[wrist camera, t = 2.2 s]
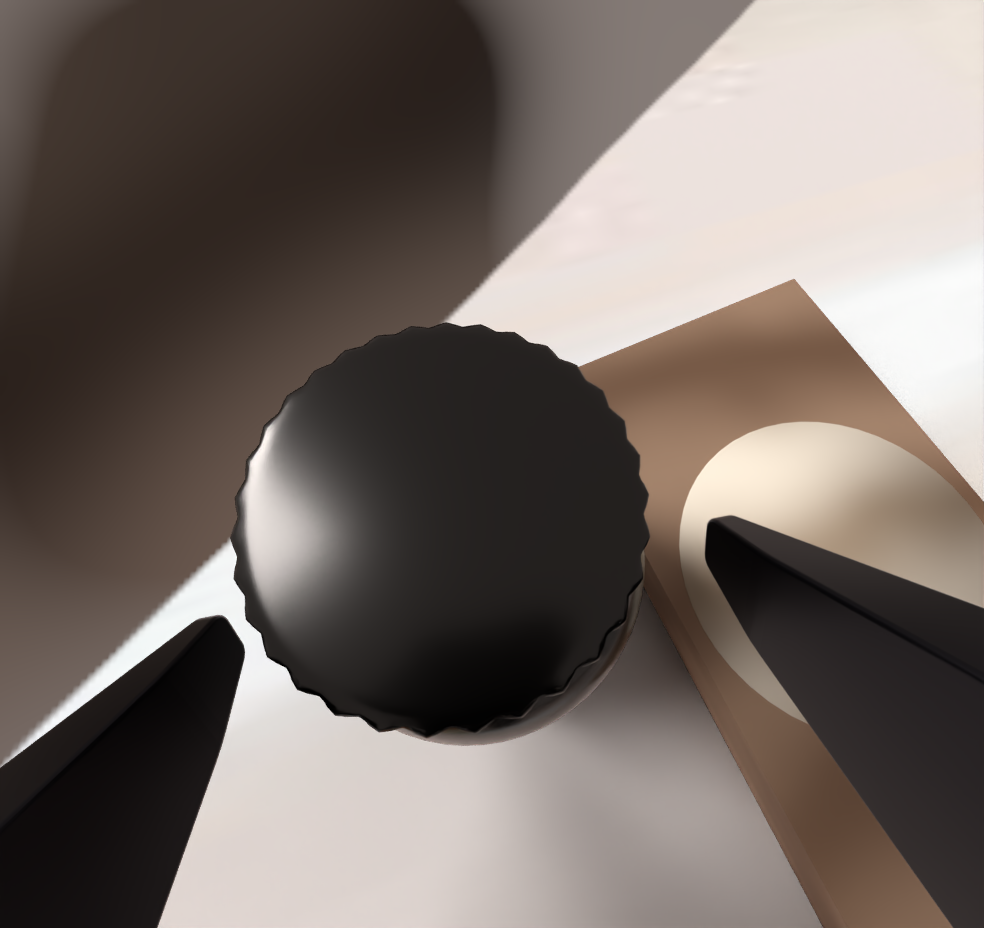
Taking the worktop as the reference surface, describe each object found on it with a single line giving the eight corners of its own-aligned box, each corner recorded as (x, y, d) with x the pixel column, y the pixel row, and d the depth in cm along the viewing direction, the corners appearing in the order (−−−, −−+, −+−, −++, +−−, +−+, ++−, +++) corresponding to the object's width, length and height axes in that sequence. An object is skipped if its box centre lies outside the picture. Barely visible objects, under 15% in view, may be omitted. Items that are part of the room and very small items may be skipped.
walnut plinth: (1158, 804, 13) (1271, 840, 11) (850, 979, 12) (914, 1051, 10) (766, 311, 19) (794, 278, 17) (546, 402, 18) (549, 378, 16)
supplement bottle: (561, 698, 15) (725, 1037, 3) (377, 645, 15) (-11, 761, 4) (595, 509, 17) (769, 301, 5) (431, 471, 17) (273, 223, 6)
